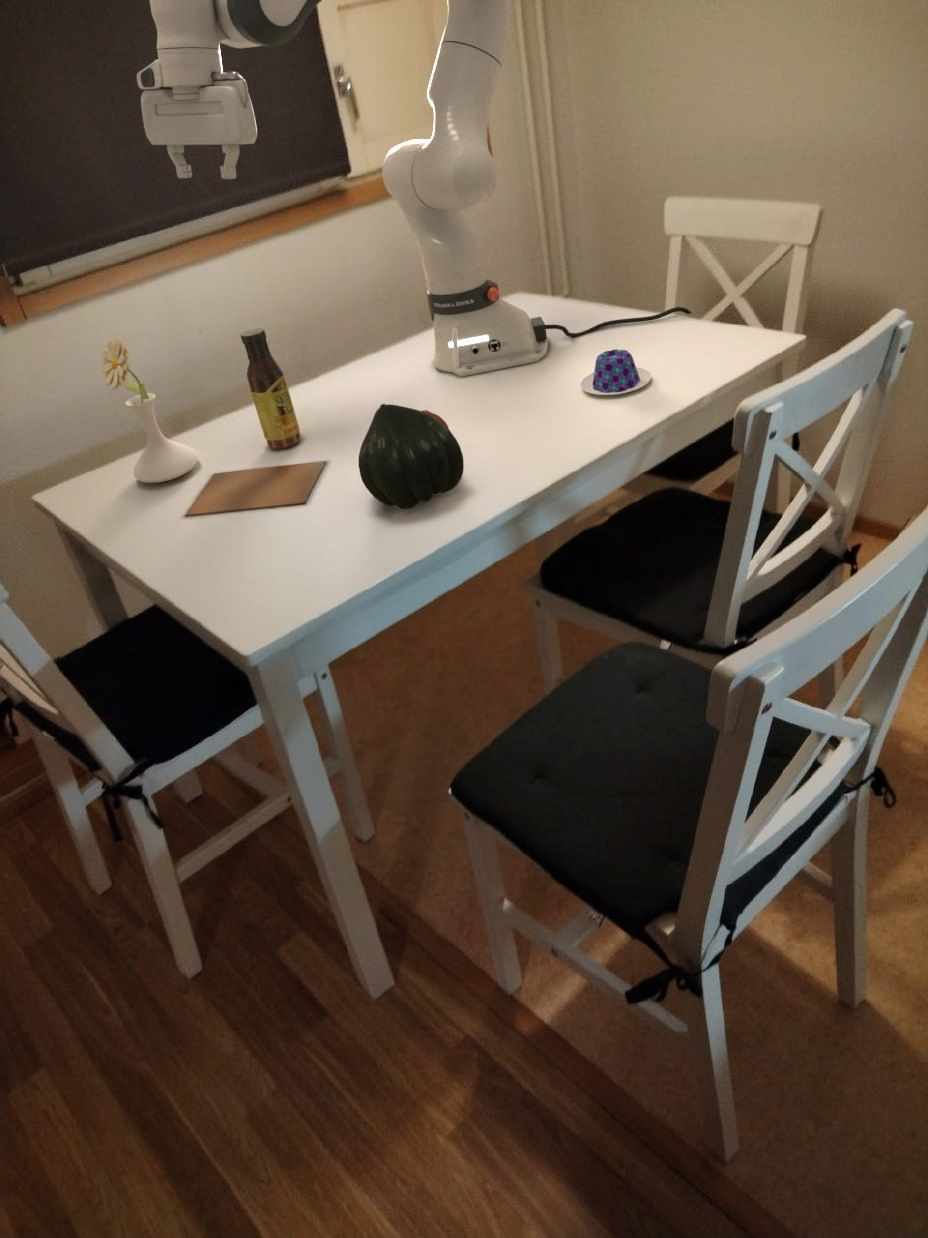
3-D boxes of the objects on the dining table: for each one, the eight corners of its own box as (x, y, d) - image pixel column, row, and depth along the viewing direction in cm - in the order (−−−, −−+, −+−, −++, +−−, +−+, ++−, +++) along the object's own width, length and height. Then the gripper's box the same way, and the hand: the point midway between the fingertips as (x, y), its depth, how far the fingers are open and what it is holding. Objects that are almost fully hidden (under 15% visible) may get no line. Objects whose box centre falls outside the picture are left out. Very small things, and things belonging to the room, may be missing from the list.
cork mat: (326, 462, 154) (325, 460, 154) (305, 503, 143) (304, 502, 143) (214, 474, 158) (213, 473, 158) (185, 516, 147) (185, 514, 147)
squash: (478, 473, 129) (440, 376, 130) (376, 508, 127) (339, 409, 129) (469, 501, 143) (435, 412, 144) (377, 533, 141) (344, 443, 143)
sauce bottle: (295, 449, 161) (261, 337, 150) (262, 452, 162) (226, 341, 151) (307, 433, 166) (275, 323, 155) (275, 435, 168) (241, 327, 156)
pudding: (593, 370, 166) (591, 341, 163) (659, 370, 161) (658, 341, 158) (571, 398, 158) (567, 368, 155) (640, 399, 153) (637, 369, 150)
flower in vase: (133, 472, 165) (75, 335, 151) (195, 451, 168) (144, 315, 154) (142, 499, 155) (81, 355, 141) (208, 477, 158) (155, 333, 143)
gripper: (260, 70, 133) (271, 177, 139) (161, 76, 142) (176, 176, 149) (228, 69, 128) (241, 180, 135) (128, 75, 138) (145, 178, 144)
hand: (206, 178), depth 142 cm, fingers open, 8 cm apart
